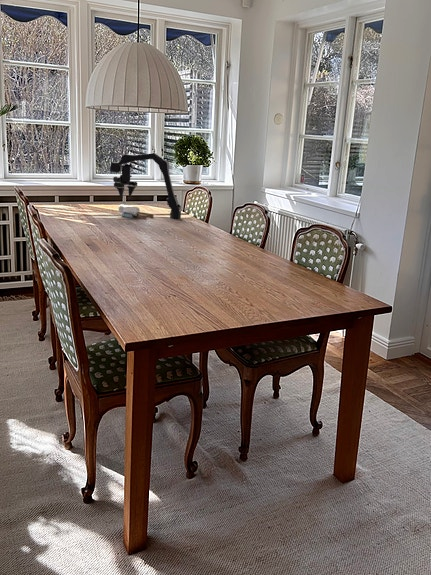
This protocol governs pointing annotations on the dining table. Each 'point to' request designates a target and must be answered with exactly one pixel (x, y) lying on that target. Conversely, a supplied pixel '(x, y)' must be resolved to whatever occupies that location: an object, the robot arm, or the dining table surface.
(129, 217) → the v block
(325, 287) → the dining table surface
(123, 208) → the silver metal tumbler
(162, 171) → the robot arm
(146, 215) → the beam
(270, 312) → the dining table surface
